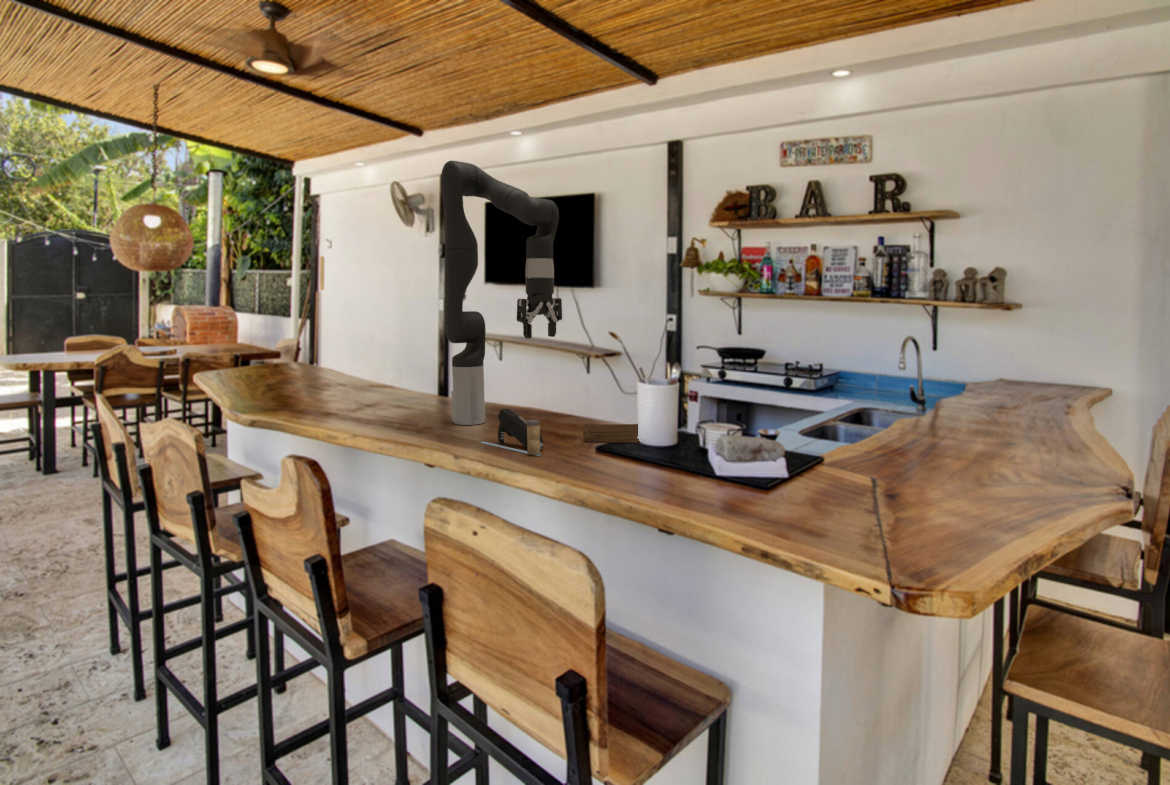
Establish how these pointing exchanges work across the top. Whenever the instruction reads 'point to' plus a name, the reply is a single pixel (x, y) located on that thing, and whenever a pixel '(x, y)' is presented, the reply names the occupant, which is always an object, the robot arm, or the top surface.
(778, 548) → the top surface
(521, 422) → the gun
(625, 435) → the wood plank
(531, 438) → the peg
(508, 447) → the tape line
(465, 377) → the robot arm
